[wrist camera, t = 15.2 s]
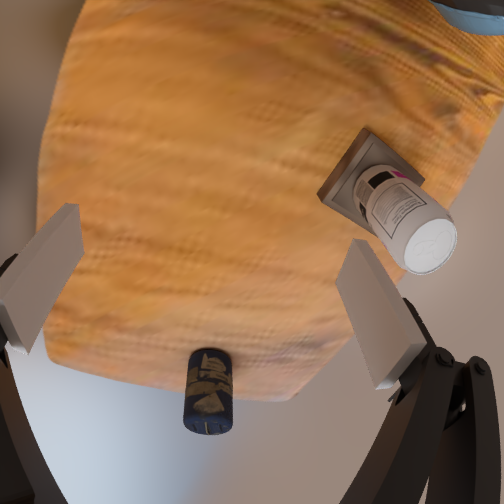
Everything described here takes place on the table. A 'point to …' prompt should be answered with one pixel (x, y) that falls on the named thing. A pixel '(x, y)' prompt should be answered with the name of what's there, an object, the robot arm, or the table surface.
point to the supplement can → (405, 219)
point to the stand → (351, 168)
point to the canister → (209, 393)
